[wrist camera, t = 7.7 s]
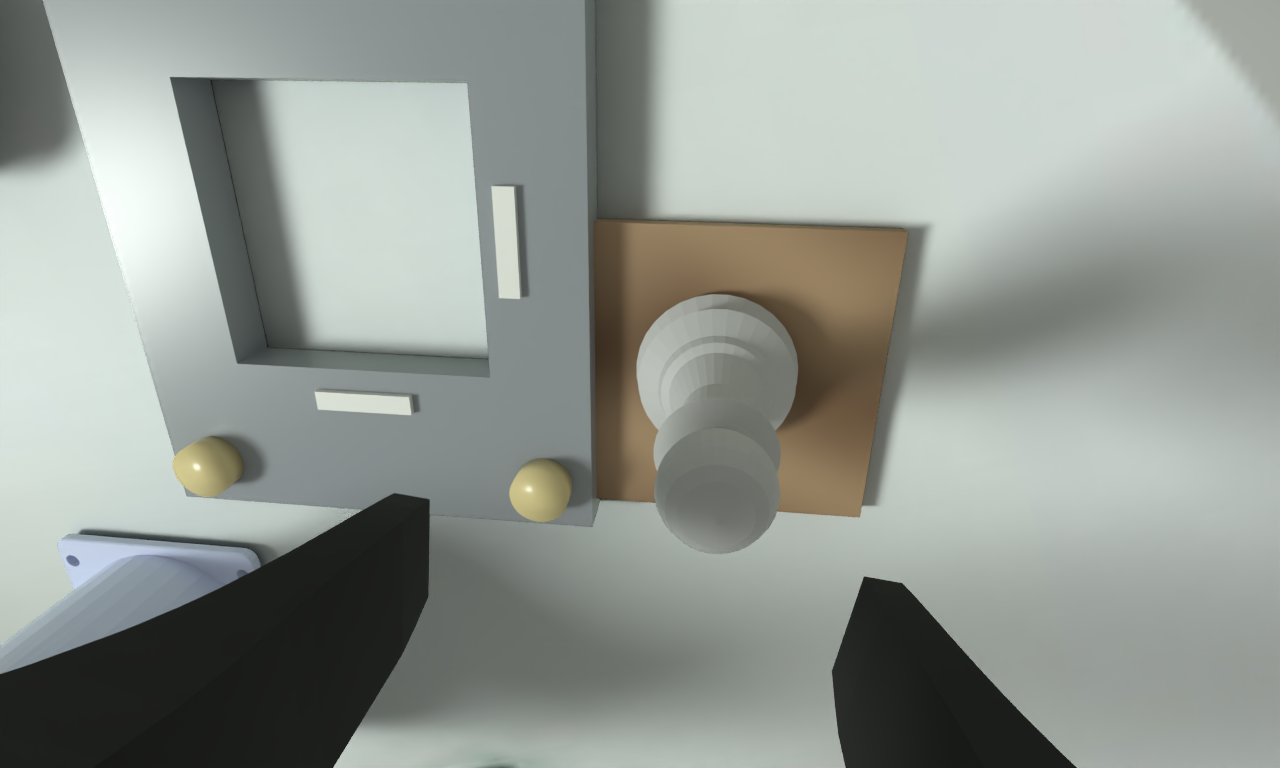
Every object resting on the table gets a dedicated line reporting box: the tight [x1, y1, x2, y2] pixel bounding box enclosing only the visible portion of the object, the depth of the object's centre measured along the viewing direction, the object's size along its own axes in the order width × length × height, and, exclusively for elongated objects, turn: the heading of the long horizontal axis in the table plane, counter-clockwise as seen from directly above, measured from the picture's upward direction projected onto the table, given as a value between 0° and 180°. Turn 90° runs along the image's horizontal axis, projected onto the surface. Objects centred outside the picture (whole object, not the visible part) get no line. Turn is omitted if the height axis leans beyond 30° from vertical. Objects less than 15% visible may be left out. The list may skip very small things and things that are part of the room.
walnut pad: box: [594, 219, 908, 517], centre depth 20 cm, size 9×9×1 cm
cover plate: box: [43, 0, 600, 527], centre depth 19 cm, size 18×14×2 cm
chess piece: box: [637, 294, 798, 554], centre depth 16 cm, size 5×5×8 cm
